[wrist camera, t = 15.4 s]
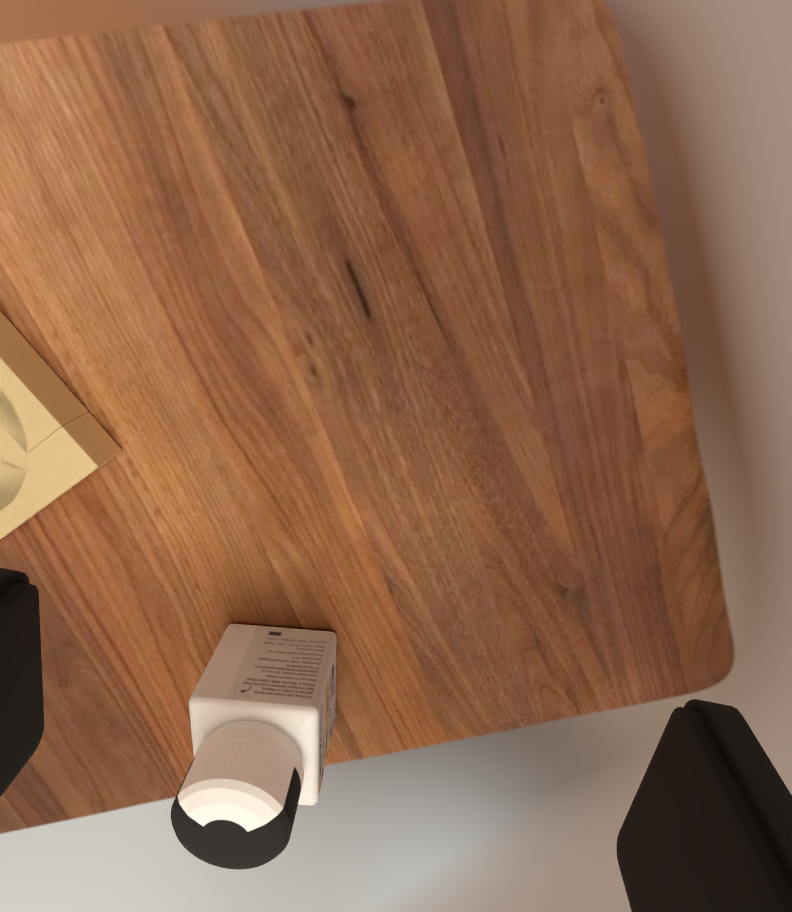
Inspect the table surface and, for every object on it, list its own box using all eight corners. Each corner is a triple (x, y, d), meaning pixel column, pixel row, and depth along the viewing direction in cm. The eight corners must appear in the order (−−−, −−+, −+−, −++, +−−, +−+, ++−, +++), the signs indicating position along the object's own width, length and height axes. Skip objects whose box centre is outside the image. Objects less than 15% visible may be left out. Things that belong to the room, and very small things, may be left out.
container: (335, 716, 46) (299, 895, 33) (233, 707, 46) (159, 881, 34) (337, 629, 43) (297, 790, 31) (228, 620, 43) (146, 777, 31)
